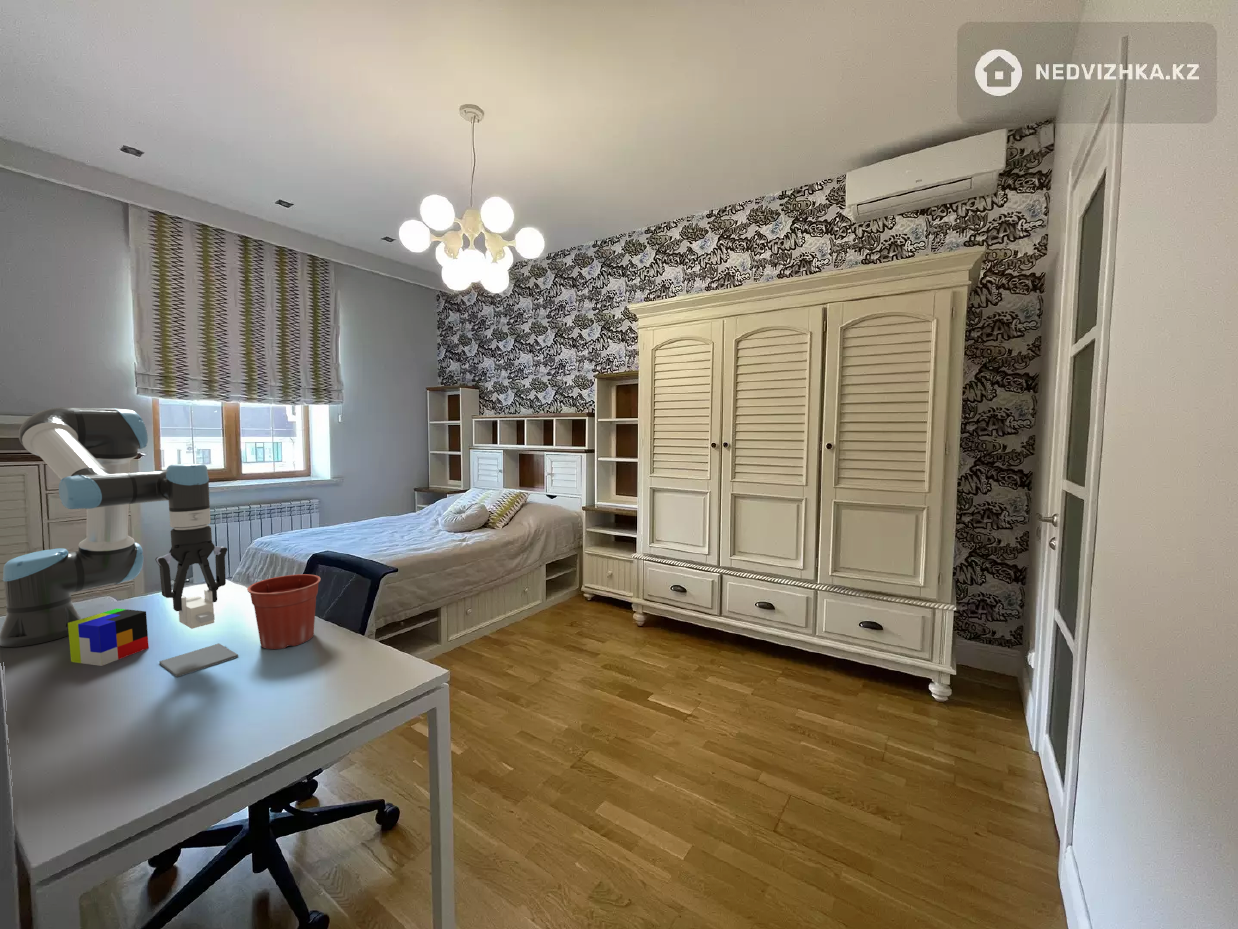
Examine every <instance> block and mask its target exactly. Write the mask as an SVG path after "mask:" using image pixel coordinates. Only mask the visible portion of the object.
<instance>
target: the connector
mask: <svg viewBox="0 0 1238 929" xmlns="http://www.w3.org/2000/svg"><path fill="white" fill-rule="evenodd" d="M186 604H187V624H183V625H184V626H186V627H188V628H190V629H191V630H192V629H195V628H199V627H200V628H201V627H204V626H207V625H212V624H214V623H215V613H214V611H215V610H214V609H215V608H214V602H213V603H212V602H210V601H207V600H205V597H201V596H190V597H186ZM178 621H179V622H180V619H179V618H178ZM180 623H181V622H180Z"/></svg>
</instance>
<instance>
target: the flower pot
mask: <svg viewBox="0 0 1238 929" xmlns="http://www.w3.org/2000/svg"><path fill="white" fill-rule="evenodd" d="M320 582H321V577H320V576H318V575H317V574H316V575H315V574H310V573H309V574H306V573H305V574H303V573H300V574H299V573H298V574H288V575H287V574H286V575H281V576H275V577H271V578H266V579H263V580H259V581H258V582H254V583H253V584H251V585H249V586H248V587H247V589H246V590H247V592H248V594H250V595H249V596H250V598H251V604H252V605H253V609H254V614H255V618H256V625H257V630H258V636H259V642H260V644H259V645H260V646H261V647H262V648H264V649H267V650H281V649H286V648H287V647H290V646H293V647H296V646H299V645H302V644H304V643H306V642H308V641H309V640H311V639H312V638H313V637H314V635H315V622H316V621H315V620H316V603H317V595H318V593H319V583H320Z"/></svg>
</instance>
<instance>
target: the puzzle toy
mask: <svg viewBox="0 0 1238 929" xmlns="http://www.w3.org/2000/svg"><path fill="white" fill-rule="evenodd" d="M147 619H148V618H147V611H146V610H136V609H134V610H133V609H126V608H125V609H124V608H113V609H110V610H107V611H103V612H99V613H97V614H93V615H90V616H88V617H87V616H86V617H84V618H81V619H80V620H76V621H73V622H70V623H68V631H69V635H68V640H69V642H68V643H69V651H70V652H69V654H70V662H71V663H78V664H85V665H92V666H101V667H102V666H105V665H108V664H111V663H114V662H116V661H118V660H121V659H124V658H126V657H129V656H132V655H133V654H137V653H139V652H142V651H144V650H147V649H149V646H150V645H149V633H148V620H147Z"/></svg>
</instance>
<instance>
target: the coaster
mask: <svg viewBox="0 0 1238 929" xmlns="http://www.w3.org/2000/svg"><path fill="white" fill-rule="evenodd" d="M235 658H239V654H238V653H236V652H235V651H233V650H231V649H229V648H228V647H226V646H224V645H222V644H221V643H216V644H213V645H212V644H211V645H210V646H206V647H203V648H200V649H195V650H193V651H189V652H186V653H183V654H179V655H176V656H173V657H170V658H166V659H163V660H160V661H158V662H159V664H160V665H161V667H163V668H164V669H166V670H167V671H168V672H170V673H171V674H172V675H173V676H175V677H176V678H178V677H181V676H184V675H187V674H190V673H193V672H196V671H200V670H203V669H205V668H208V667H212V666H214V665H217V664H221V663H225V662H227V661H229V660H233V659H235Z"/></svg>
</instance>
